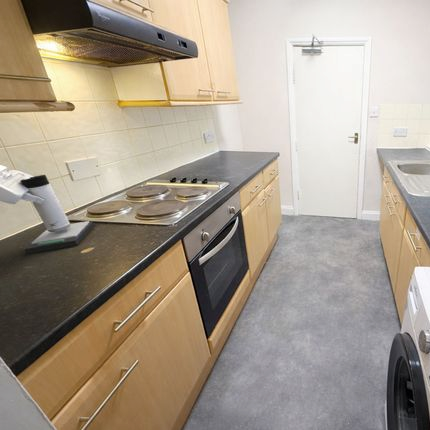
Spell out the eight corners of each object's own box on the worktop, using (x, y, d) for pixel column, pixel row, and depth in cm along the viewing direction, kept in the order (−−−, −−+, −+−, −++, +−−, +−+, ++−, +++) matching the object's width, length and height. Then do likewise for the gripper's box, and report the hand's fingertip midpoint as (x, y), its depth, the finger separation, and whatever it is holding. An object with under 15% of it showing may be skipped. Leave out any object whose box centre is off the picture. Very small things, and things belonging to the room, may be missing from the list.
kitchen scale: (27, 254, 89) (23, 247, 88) (51, 232, 102) (48, 226, 101) (77, 245, 93) (74, 238, 92) (94, 225, 107) (92, 219, 106)
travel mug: (58, 233, 94) (30, 179, 85) (43, 232, 95) (13, 178, 86) (76, 224, 99) (50, 173, 90) (61, 223, 100) (34, 172, 91)
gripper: (-1, 176, 92) (50, 196, 100) (-33, 193, 76) (31, 216, 84) (10, 161, 92) (60, 182, 100) (-20, 176, 76) (42, 200, 84)
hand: (46, 198), depth 92 cm, fingers closed on travel mug, 6 cm apart
